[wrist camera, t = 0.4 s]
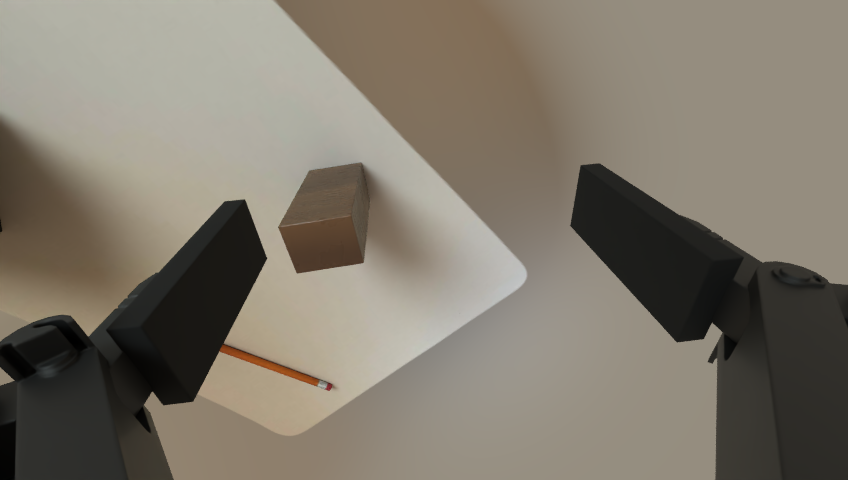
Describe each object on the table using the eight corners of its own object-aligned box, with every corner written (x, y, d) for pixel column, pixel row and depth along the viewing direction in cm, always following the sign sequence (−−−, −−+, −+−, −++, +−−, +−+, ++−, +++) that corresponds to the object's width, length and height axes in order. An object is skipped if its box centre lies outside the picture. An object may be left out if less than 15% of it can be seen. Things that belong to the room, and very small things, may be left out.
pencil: (329, 386, 49) (328, 392, 48) (189, 335, 42) (185, 341, 41) (332, 383, 49) (331, 388, 48) (192, 331, 42) (188, 336, 41)
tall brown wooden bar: (308, 170, 33) (277, 226, 24) (361, 162, 33) (350, 215, 24) (321, 208, 35) (296, 273, 26) (370, 200, 35) (363, 263, 26)
